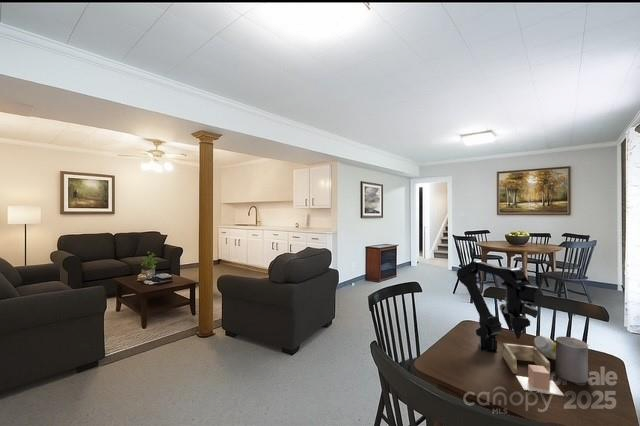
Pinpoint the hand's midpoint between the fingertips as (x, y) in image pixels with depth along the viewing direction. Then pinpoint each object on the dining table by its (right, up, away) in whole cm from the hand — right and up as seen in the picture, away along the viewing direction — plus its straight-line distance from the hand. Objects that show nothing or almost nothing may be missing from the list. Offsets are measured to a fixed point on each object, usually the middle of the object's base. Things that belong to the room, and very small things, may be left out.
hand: (514, 334), depth 127 cm
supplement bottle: (+20, -9, +3) cm, 22 cm away
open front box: (+2, -12, -4) cm, 13 cm away
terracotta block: (-2, -12, -17) cm, 21 cm away
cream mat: (-2, -12, -17) cm, 21 cm away
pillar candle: (+15, -12, -11) cm, 22 cm away
